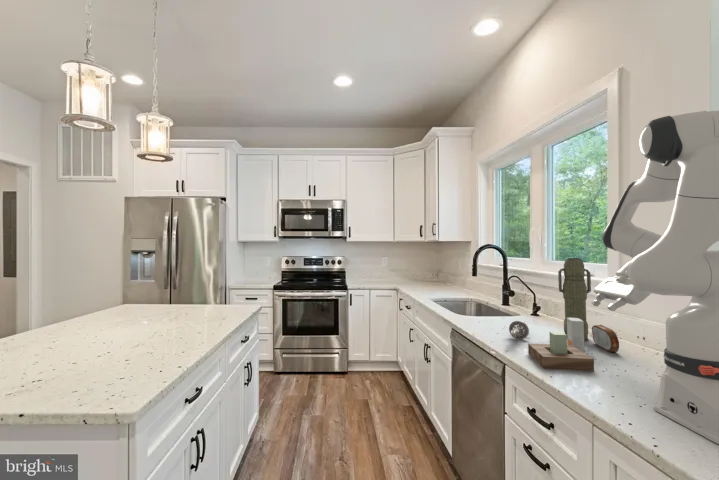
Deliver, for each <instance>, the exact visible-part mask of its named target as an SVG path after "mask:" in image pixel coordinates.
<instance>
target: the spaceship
mask: <svg viewBox="0 0 719 480" xmlns="http://www.w3.org/2000/svg"><path fill="white" fill-rule="evenodd" d="M508 332H509V334H510V335H511V337H512V338H514V339H515V340H516V339H517V340H523V339H526V338H527V337H528V336H529V333H530V328H529V327H528V324H527V323H526V322H525V321H521V320H514V321H512V322H511V323H510V324H509V327H508Z"/></svg>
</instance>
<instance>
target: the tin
mask: <svg viewBox="0 0 719 480" xmlns="http://www.w3.org/2000/svg"><path fill="white" fill-rule="evenodd" d="M591 335H592V337H591V338H592V340H593V342H594V343H595V345H596V346H597V347H599V348H601V349H604V350H605V351H606V352H607V353H608V352H611V353H612V352H613V353H614V352H615V353H617V352H618V351H619V349H620V341H619V338H618V335H617V333H616V332H615V331H614V330H613V329H611V328H609V327H607V326H604V325H603V324H597V325H596V324H595V325H593V326H592V327H591Z"/></svg>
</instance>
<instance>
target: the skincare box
mask: <svg viewBox="0 0 719 480" xmlns="http://www.w3.org/2000/svg"><path fill="white" fill-rule="evenodd" d="M567 338H568V339H567V345H573V346H574V347H576V348H577V349H579V350H581V351H582V352H584V353H585V348H586V347H585V341H584V322H583V321H582V320H581V319H579V318H567ZM585 354H586V353H585Z"/></svg>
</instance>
